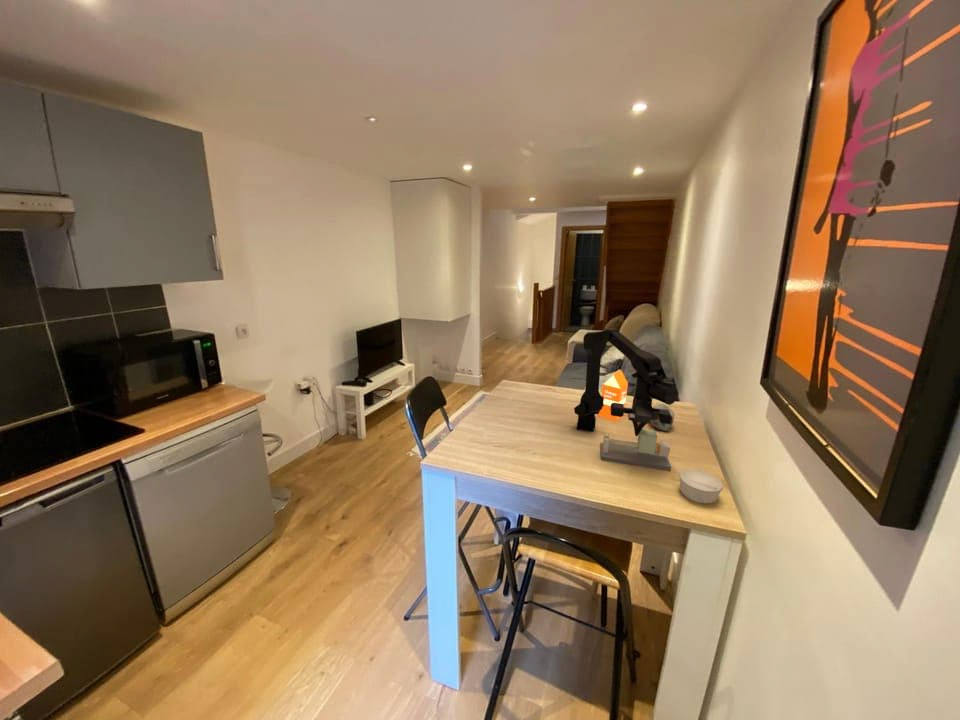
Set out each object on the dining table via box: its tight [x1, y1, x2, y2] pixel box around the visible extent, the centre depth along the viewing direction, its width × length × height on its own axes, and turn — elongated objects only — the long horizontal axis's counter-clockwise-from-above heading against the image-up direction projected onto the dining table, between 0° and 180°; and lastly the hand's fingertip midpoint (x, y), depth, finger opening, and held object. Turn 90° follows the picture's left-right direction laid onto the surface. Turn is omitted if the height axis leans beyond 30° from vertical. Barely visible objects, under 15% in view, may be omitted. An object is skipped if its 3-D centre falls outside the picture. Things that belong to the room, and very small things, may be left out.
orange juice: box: [598, 369, 629, 422], centre depth 162 cm, size 8×9×20 cm
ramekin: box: [679, 468, 724, 505], centre depth 112 cm, size 11×11×5 cm
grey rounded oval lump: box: [650, 403, 675, 432], centre depth 155 cm, size 14×10×10 cm
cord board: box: [599, 433, 672, 472], centre depth 130 cm, size 22×10×7 cm, turn 74°
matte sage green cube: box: [637, 428, 658, 454], centre depth 128 cm, size 5×5×6 cm
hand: (636, 435), depth 129 cm, fingers closed
